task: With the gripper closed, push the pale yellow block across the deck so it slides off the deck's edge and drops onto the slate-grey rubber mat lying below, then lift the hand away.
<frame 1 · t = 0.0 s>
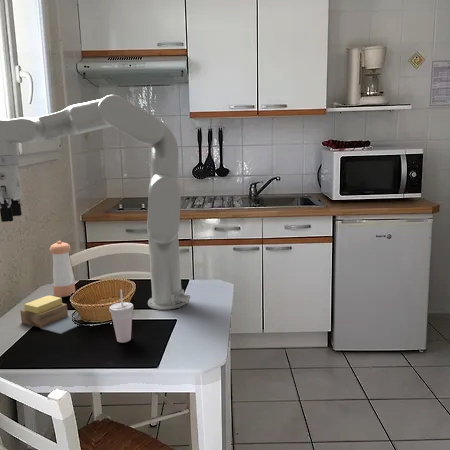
hand: (11, 218, 150), 31 cm above the table, tool pointing down, fingers open, 9 cm apart
smoothie: (124, 340, 135), on the table
pale yellow block: (43, 307, 151), point 4 cm above the table, touching deck
deck: (45, 319, 152), on the table
pepper shaker: (64, 294, 176), on the table
mat: (65, 324, 147), on the table
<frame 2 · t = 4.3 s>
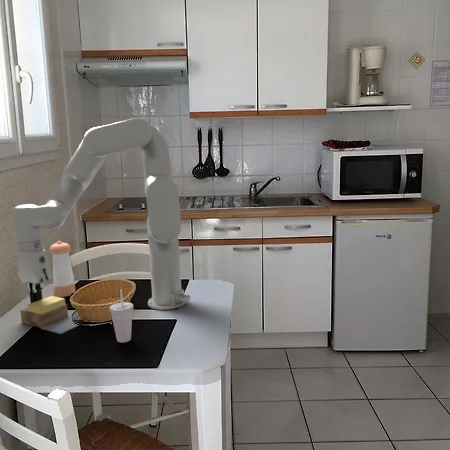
hand: (36, 303, 153), 5 cm above the table, tool pointing down, fingers closed
pale yellow block: (46, 308, 150), point 4 cm above the table
everything else where it was.
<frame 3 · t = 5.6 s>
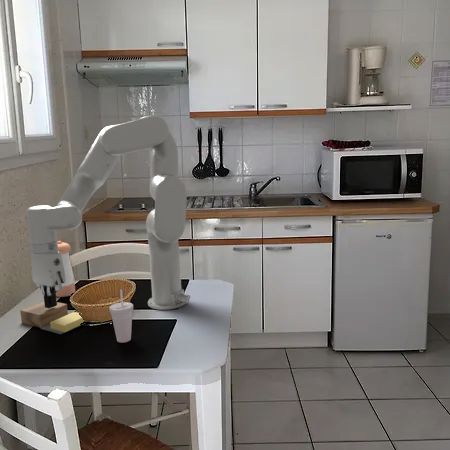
hand: (51, 306, 149), 5 cm above the table, tool pointing down, fingers closed
pale yellow block: (69, 318, 146), point 2 cm above the table, tilted 180°, touching mat
everything else where it was.
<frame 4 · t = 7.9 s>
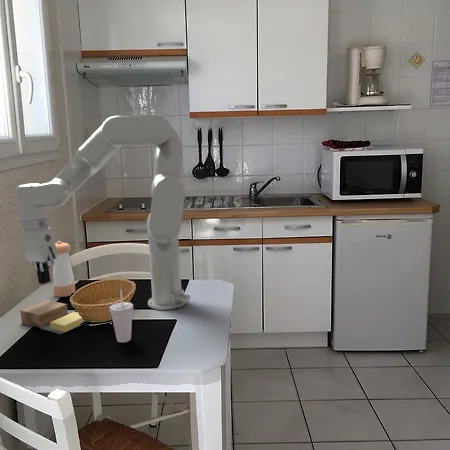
hand: (44, 282, 153), 11 cm above the table, tool pointing down, fingers closed
nothing on the table moved.
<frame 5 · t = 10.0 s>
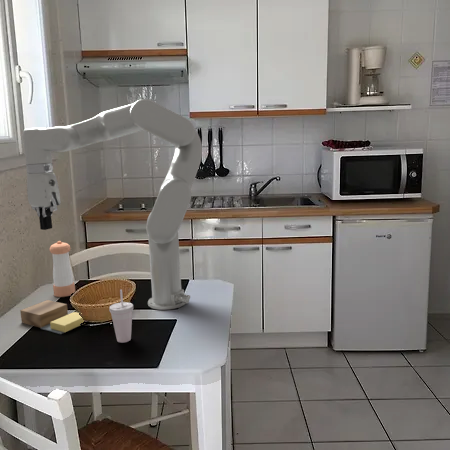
hand: (46, 228, 153), 27 cm above the table, tool pointing down, fingers closed
nothing on the table moved.
at the end: pale yellow block point 2.3 cm above the table; pale yellow block inside the target area (2.1 cm from its centre), point 2.3 cm above the table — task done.
